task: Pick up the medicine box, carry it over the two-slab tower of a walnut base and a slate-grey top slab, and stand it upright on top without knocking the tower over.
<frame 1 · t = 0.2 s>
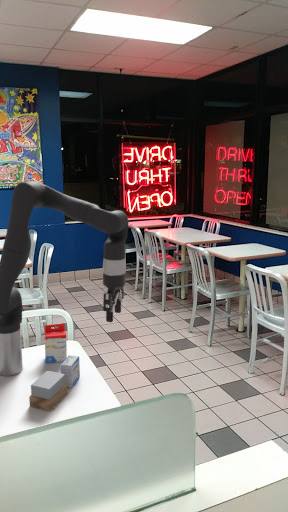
hand: (113, 317, 135), 28 cm above the table, tool pointing down, fingers open, 8 cm apart
walnut base slab: (49, 400, 136), on the table, touching slate top slab
medicine box: (70, 382, 147), on the table
slate top slab: (48, 390, 135), point 4 cm above the table, touching walnut base slab
ink box: (56, 359, 164), on the table
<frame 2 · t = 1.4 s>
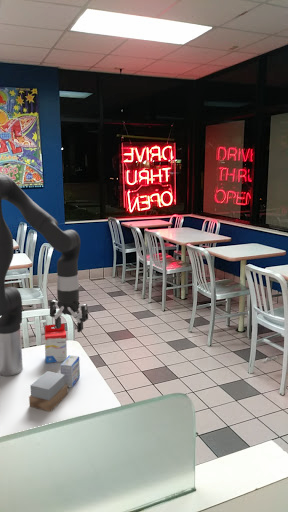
hand: (69, 329, 143), 21 cm above the table, tool pointing down, fingers open, 8 cm apart
walnut base slab: (49, 400, 136), on the table
slate top slab: (48, 390, 135), point 4 cm above the table
everything else where it was.
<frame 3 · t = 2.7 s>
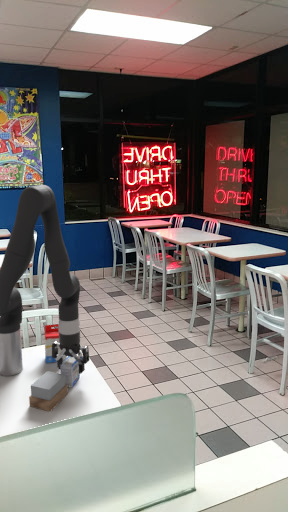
hand: (71, 370, 146), 5 cm above the table, tool pointing down, fingers open, 8 cm apart
walnut base slab: (49, 401, 136), on the table, touching slate top slab
slate top slab: (48, 390, 135), point 4 cm above the table, touching walnut base slab
everything else where it was.
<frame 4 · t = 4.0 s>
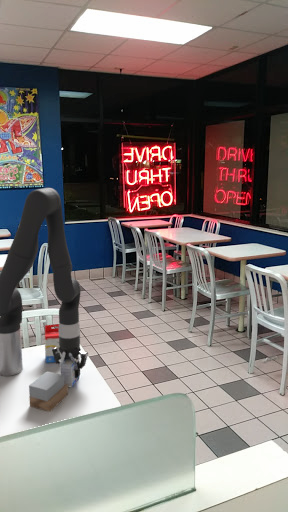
hand: (70, 375, 147), 2 cm above the table, tool pointing down, fingers closed on medicine box, 4 cm apart
medicine box: (70, 381, 147), on the table, touching gripper
everything else where it was.
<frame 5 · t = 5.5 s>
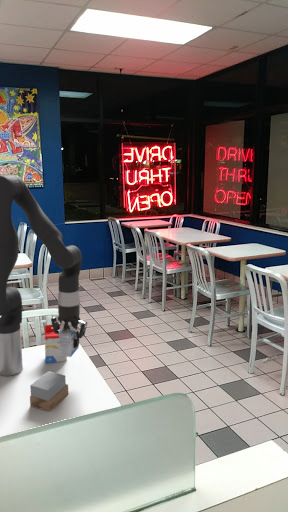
hand: (69, 345, 144), 14 cm above the table, tool pointing down, fingers closed on medicine box, 4 cm apart
medicine box: (69, 352, 145), point 12 cm above the table, touching gripper
everything else where it was.
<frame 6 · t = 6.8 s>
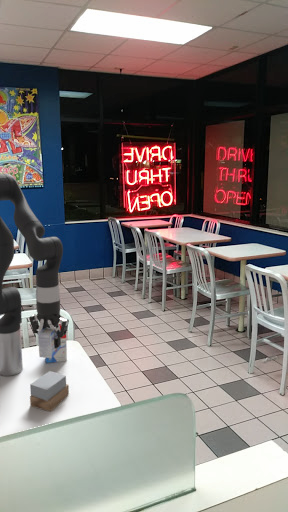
hand: (50, 346, 132), 19 cm above the table, tool pointing down, fingers closed on medicine box, 4 cm apart
walnut base slab: (50, 400, 136), on the table
medicine box: (50, 353, 133), point 17 cm above the table, touching gripper
slate top slab: (48, 390, 135), point 4 cm above the table
everything else where it was.
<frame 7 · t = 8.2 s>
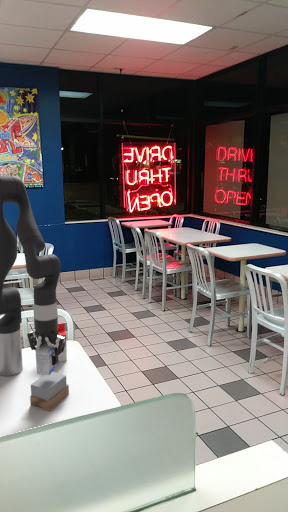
hand: (47, 362, 132), 14 cm above the table, tool pointing down, fingers closed on medicine box, 4 cm apart
medicine box: (48, 369, 133), point 11 cm above the table, touching gripper
everything else where it was.
when the fingers open (11 cm above the table, at t = 9.6 s): medicine box drops 1 cm, resting on slate top slab.
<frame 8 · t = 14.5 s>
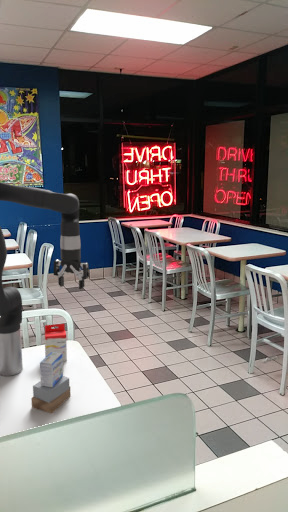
hand: (71, 287, 154), 32 cm above the table, tool pointing down, fingers open, 8 cm apart
walnut base slab: (51, 402, 135), on the table
medicine box: (51, 381, 133), point 7 cm above the table, touching slate top slab
slate top slab: (51, 392, 134), point 4 cm above the table, touching medicine box
everything else where it was.
at the end: medicine box 0.5 cm off-centre on the slate top slab, point 3.8 cm above the slate top slab's base; medicine box tilted 0°; slate top slab moved 1.8 cm from its start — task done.
